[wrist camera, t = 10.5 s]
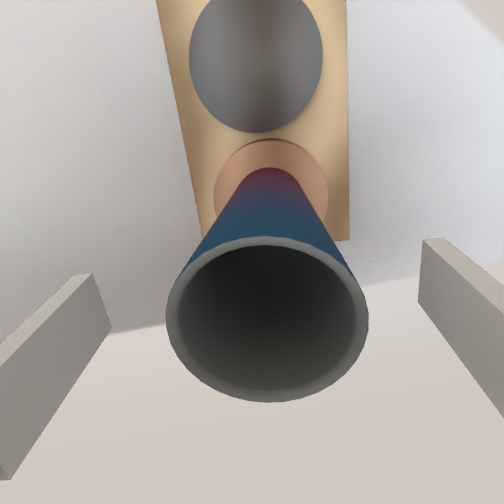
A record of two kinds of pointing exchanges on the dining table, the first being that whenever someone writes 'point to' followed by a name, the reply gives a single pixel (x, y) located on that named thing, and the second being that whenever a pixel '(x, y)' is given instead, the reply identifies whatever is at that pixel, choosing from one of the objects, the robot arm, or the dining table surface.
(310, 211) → the cup
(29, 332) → the robot arm
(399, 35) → the dining table surface
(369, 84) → the dining table surface
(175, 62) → the stand board
